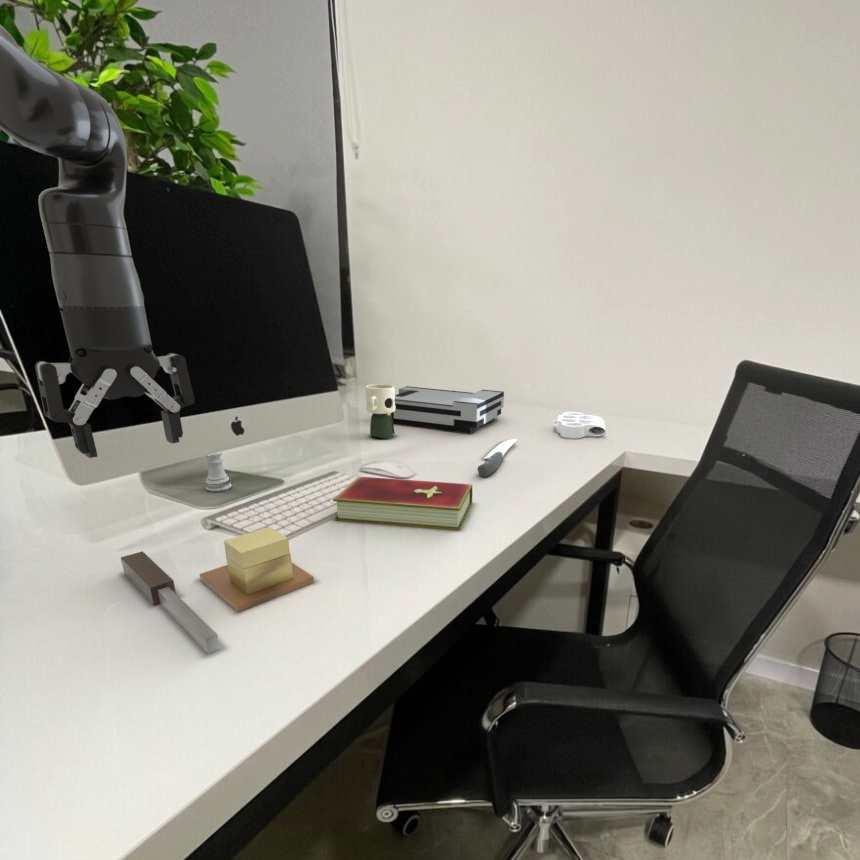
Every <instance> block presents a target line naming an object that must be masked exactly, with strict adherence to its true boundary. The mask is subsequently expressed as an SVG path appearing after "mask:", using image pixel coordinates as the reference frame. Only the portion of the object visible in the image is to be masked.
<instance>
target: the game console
mask: <svg viewBox="0 0 860 860" xmlns="http://www.w3.org/2000/svg"><path fill="white" fill-rule="evenodd" d="M504 395H505V391H503V390H502V391H501V390H490V389H479V390H478V391H475V392H469V391H459V390H449V389H439V388H429V387H420V386H419V387H418V386H408V385H406V386H404V387H400V388H398V394H395V406H396V409H395V411H394V412H392V413H391V416H392V420H393V425H397V426H407V427H414V428H423V429H424V428H425V429H430V430H431V429H432V430H437V431H443V432H444V431H446V432H452V433H453V432H454V433H461V434H472V433H473V432H476V431H478V430H479V427H481V426H483V425H485V424H489V423H491V422H492V421H494V420H496V419H497V417H498V416H500V415H501V414H502V409H503V408H504V407H505V406H504V402H505V400H504V399H505V396H504Z"/></svg>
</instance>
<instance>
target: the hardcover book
mask: <svg viewBox="0 0 860 860" xmlns="http://www.w3.org/2000/svg"><path fill="white" fill-rule="evenodd" d="M332 501H333V502H335V503H336V511H337V516H336V517H335V518H334V522H343V523H344V522H345V523H357V524H358V523H359V524H368V525H369V524H370V525H371V524H372V525H381V526H395V527H409V528H421V529H433V530H446V531H458V532H459V531H461V529H462V527H463V525H464V523H465V521H466V518H467V516H468V514H469V512H470V510H471V508H472V506H473V484H472V483H457V482H444V481H443V482H442V481H429V480H428V481H427V480H416V479H400V478H399V479H398V478H389V477H388V478H386V477H373V476H372V477H371V476H357V477H356V478H355V479H354V480H353V481H351V482H350V483H349V484H348V485H347V486H346V487H345V488H344V489H343V490H342V491H340V492H339V493H338V494H337V495H336V496H334V497H333V499H332Z"/></svg>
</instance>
